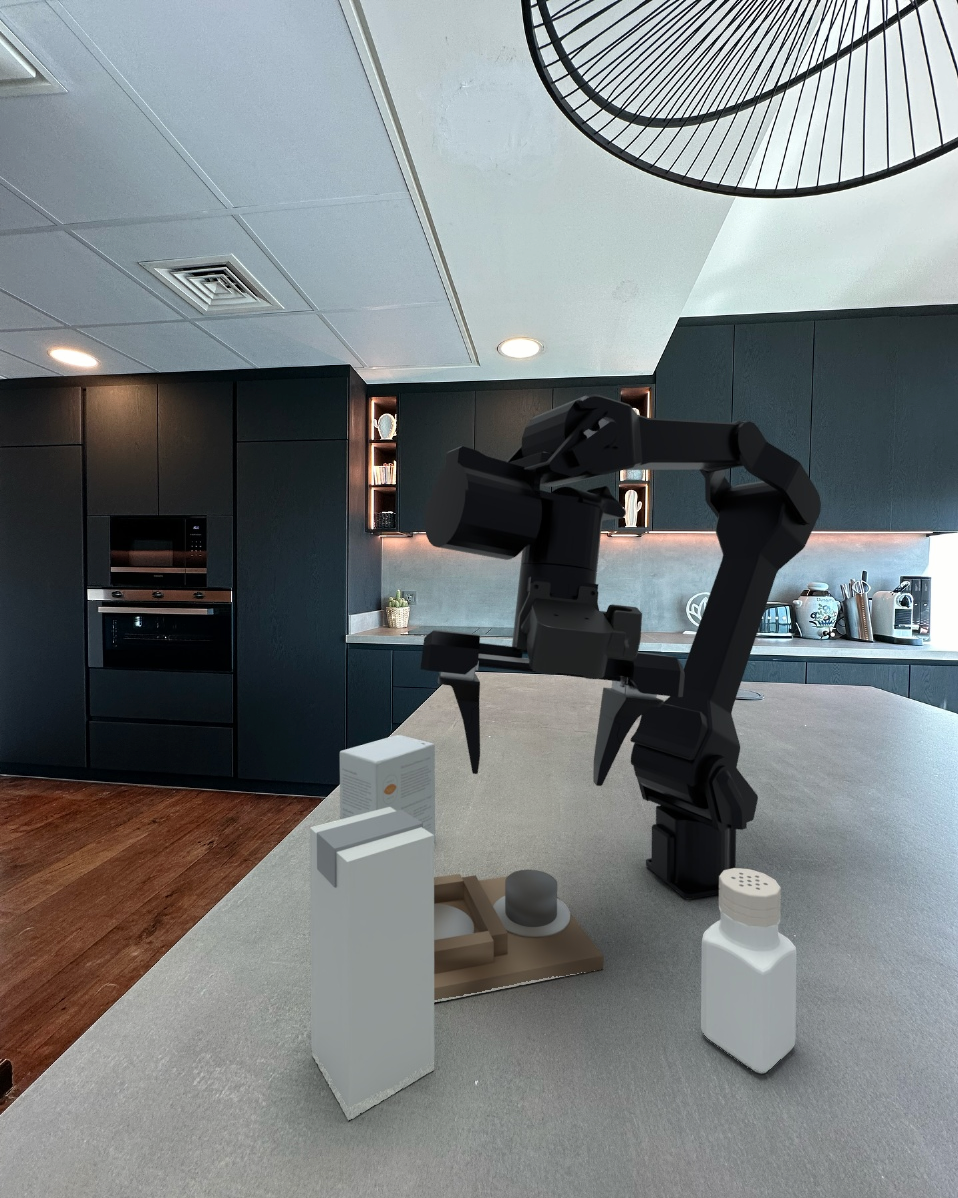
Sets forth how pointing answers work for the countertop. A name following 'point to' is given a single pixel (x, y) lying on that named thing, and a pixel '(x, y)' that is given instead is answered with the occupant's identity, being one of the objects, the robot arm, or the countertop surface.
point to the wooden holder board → (504, 933)
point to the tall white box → (372, 950)
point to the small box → (389, 778)
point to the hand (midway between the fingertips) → (536, 778)
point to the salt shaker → (749, 972)
